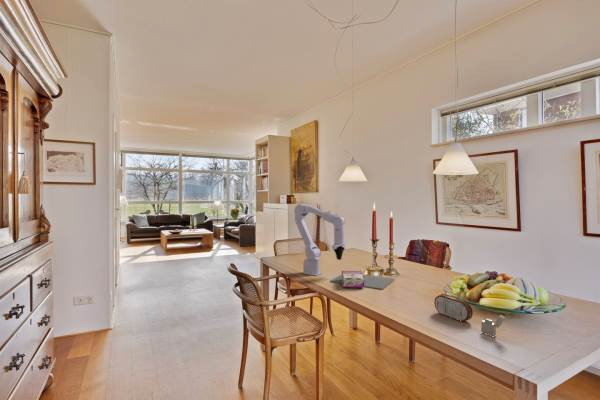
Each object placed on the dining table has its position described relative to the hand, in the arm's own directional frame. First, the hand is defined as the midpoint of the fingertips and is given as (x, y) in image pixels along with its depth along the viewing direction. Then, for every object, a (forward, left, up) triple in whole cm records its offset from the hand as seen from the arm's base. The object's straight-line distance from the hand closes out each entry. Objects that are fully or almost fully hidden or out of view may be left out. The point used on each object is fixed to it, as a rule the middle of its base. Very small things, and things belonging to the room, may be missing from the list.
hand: (339, 259), depth 190 cm
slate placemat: (+15, -1, -10) cm, 18 cm away
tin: (+65, -34, -11) cm, 74 cm away
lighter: (+79, -45, -11) cm, 92 cm away
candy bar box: (+9, -3, -7) cm, 12 cm away
